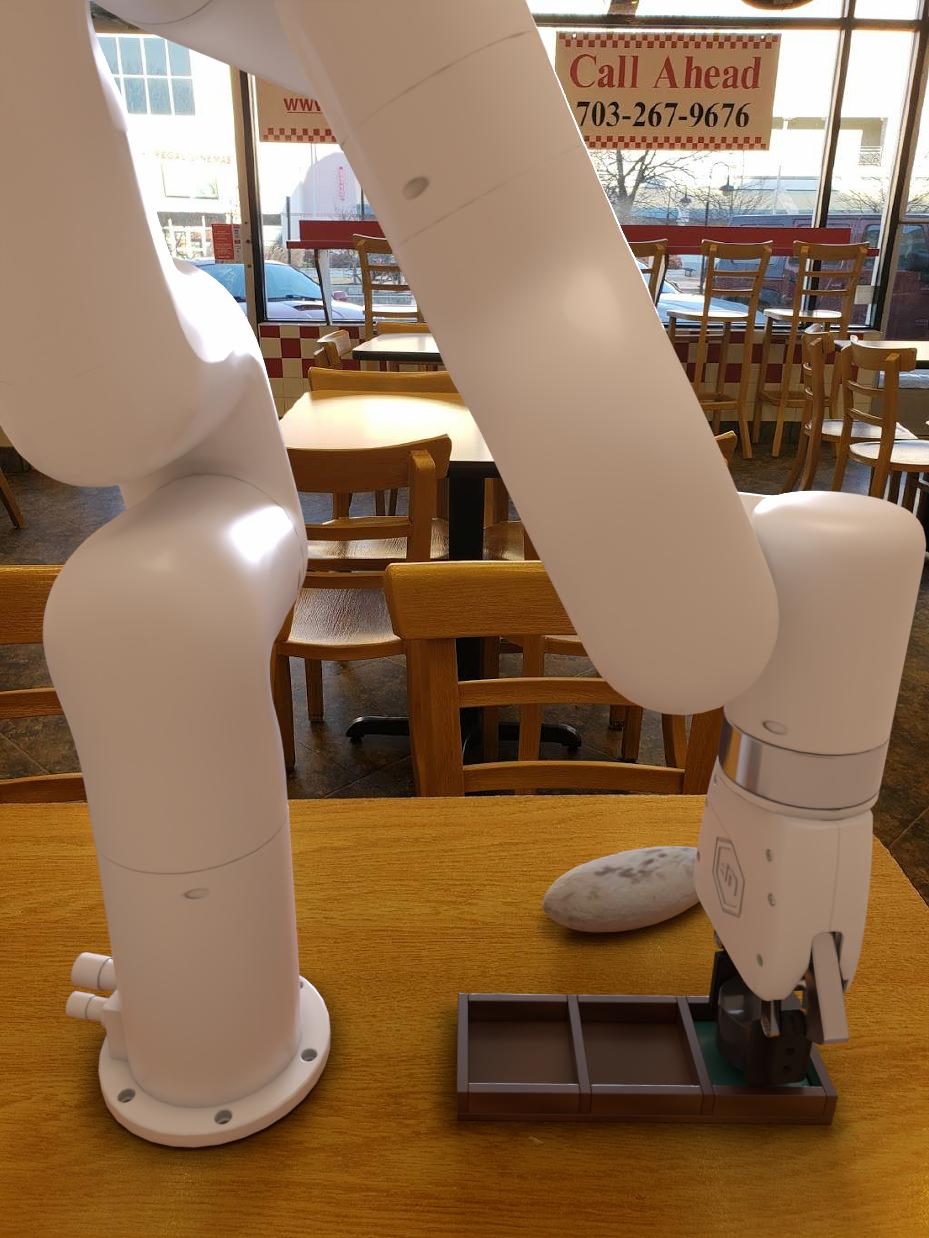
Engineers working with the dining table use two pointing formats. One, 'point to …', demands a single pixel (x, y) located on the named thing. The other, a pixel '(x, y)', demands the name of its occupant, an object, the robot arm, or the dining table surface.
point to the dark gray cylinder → (740, 1019)
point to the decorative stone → (624, 890)
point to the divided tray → (615, 1064)
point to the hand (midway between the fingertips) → (754, 1039)
